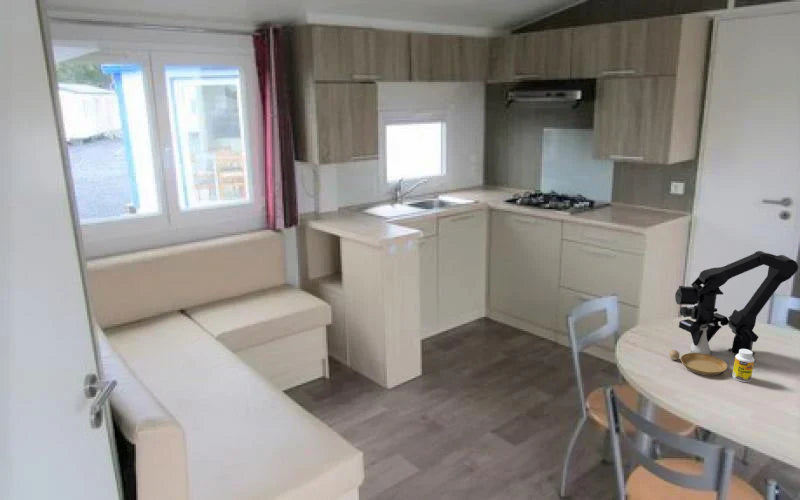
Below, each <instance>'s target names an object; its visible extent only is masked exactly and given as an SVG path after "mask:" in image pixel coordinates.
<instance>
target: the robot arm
mask: <svg viewBox="0 0 800 500" xmlns="http://www.w3.org/2000/svg"><path fill="white" fill-rule="evenodd" d="M798 265H799V264H798V262H797V261H796V260H794V259H792V258H790V257H789V256H786V255H784V254H779V255H776V254H772V253H769V252H768V253H767V252H764V251H763V250H758V251H755V252H754V253H752V254H751V255H747V256H745V257H742V258H740V259H738V260H736V261H734V262H733V261H732V263H728V264H726V265H724V266H720V267H711V268H708V269H704V270H702V271H700V273H699V275H698V277H697V278H695V280H694V281H693V282H692V283H691V284H690V285H691V286H687V285H686V286H684V285H679V286H678V289H677V290H676V291H675V294H674V295H675V297H674V298H675V302H676V305H679V306H680V305H684V306H681V307H680V309H679V314H680V316H683V318H686V319H683V320H681V321H679V322H678V328H679V329H681V330H683V331H686V332H688V333H690V335H691V339H692V343H694V345H695V346H697V345H698V343H699V340H700V338H701V336H702V334H703V331H702V330H701V326H703V325H705V326H707V327H708V329H707V331H706V334H707V340H708V343H709V342H710V341H711V339H713V337H714V336H715V335H716V334H717V333H718V331H719V330H720V329H722V327H724V326H728V327H729V328H730V329H731V332H732V333H733V334H734V336H733V341H732V347H731V348H728V349H727V350H728V351H729V352H731V353H733V354H735V355H737V354H739V350H740V349H748V350H750V351H752V350H753V345H754V343H757V341H758V340H759V336H758V335H757V333H755V332H754V328H755V326H756V322H757V321H756V320H757V317H758V315H759V314H760V312H761V311H762V310H763V308H764V307H765V305H766V304H767V303H768V301H769V300H770V299H771V298H772V296H773V295H774V293H776V290H778V288H779V287H780V285H781V284H782V283H784V282H787V281H789V280H790V279H791V278H792V277H793V276H794V275H795V274H796V273H797V272H798V270H799V266H798ZM760 266H767V267H768V270H767V275H766V277H765V278H764V280H763V281H762V282H761V284H760V285H759V286H758V288H757V290H756V291H755V292H754V293H753V294H752V297H750V299H749V300H748V302H747V303H746V305H744V307H743V308H741V309H740V310H737V309H734V310H733V312H732V313H731V315H729V316H728V317H727V316H725V315H723V314H720V313H718V308H716V302H717V296H718V295H720V296H721V295H724V292H723V291H722V290H721V289H720V287H722V286H723V285H725V284H726V283H727V282H728V281H729V280H730V279H732V278H735V277H737V276H738V275H742V274H744V273H747V272H749V271H751V270H754V269H756V268H759V267H760ZM702 285H703V286H702ZM685 305H686V306H685ZM690 305H692V306H690ZM688 306H689V307H688ZM687 317H688V319H687ZM689 318H691V319H689ZM694 320H695V321H694ZM719 323H720V325H719ZM752 352H753V355H755V354H756V352H755V351H752Z"/></svg>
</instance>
